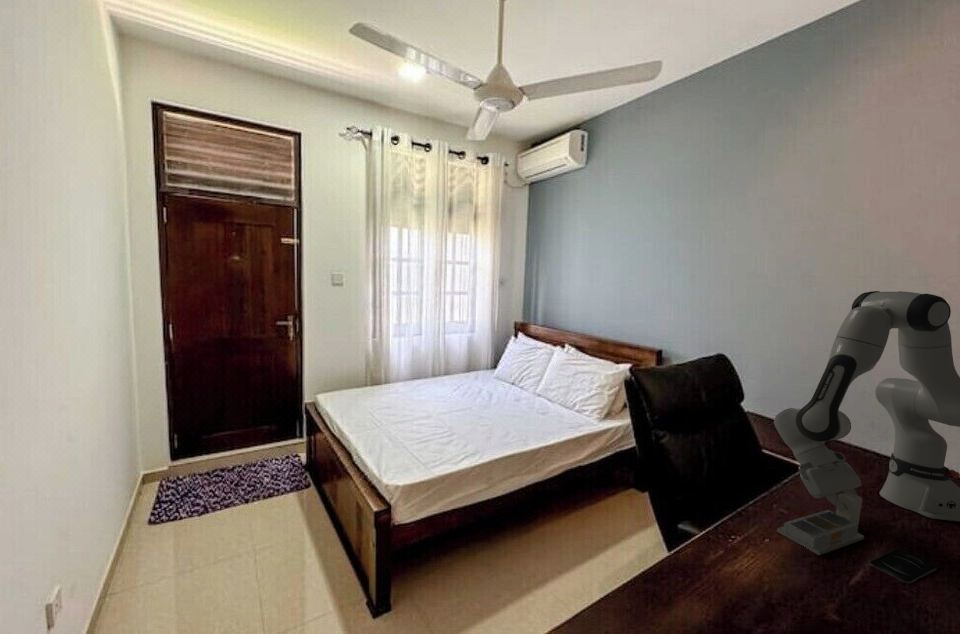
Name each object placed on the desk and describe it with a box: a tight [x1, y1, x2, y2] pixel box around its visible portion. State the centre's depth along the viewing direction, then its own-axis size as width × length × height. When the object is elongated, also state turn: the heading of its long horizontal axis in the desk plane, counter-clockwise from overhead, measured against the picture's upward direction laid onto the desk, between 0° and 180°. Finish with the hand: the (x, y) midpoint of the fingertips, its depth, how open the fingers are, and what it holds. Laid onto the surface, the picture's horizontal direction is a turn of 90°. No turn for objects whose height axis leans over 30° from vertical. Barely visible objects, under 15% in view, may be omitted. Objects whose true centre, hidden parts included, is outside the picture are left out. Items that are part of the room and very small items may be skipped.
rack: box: [776, 509, 865, 556], centre depth 110 cm, size 20×10×4 cm, turn 113°
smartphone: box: [869, 548, 937, 585], centre depth 99 cm, size 8×1×15 cm
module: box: [835, 491, 863, 524], centre depth 117 cm, size 4×4×8 cm
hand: (851, 508), depth 116 cm, fingers open, 6 cm apart
